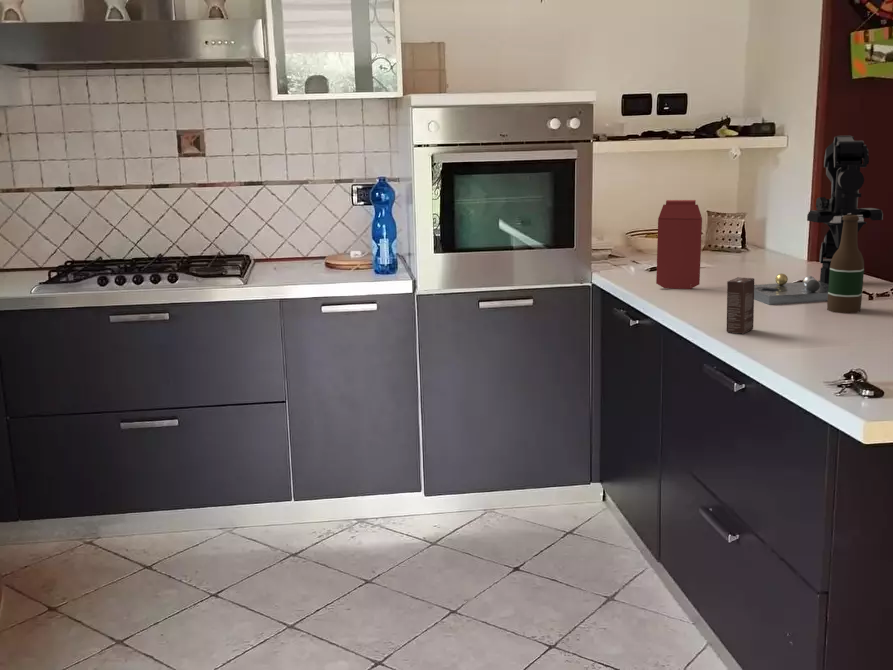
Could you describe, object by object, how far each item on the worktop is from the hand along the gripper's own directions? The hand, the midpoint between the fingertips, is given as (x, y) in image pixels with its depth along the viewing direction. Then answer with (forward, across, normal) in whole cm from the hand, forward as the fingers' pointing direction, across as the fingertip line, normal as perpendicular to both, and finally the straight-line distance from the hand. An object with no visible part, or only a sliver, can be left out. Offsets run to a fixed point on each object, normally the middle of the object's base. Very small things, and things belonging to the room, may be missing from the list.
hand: (842, 247), depth 243 cm
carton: (+13, +36, -23) cm, 45 cm away
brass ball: (+9, +14, -6) cm, 17 cm away
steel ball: (+9, +9, 0) cm, 13 cm away
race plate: (+13, +13, 0) cm, 18 cm away
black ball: (+9, +11, +6) cm, 15 cm away
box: (+13, +45, +33) cm, 57 cm away
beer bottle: (+13, +11, +20) cm, 26 cm away
